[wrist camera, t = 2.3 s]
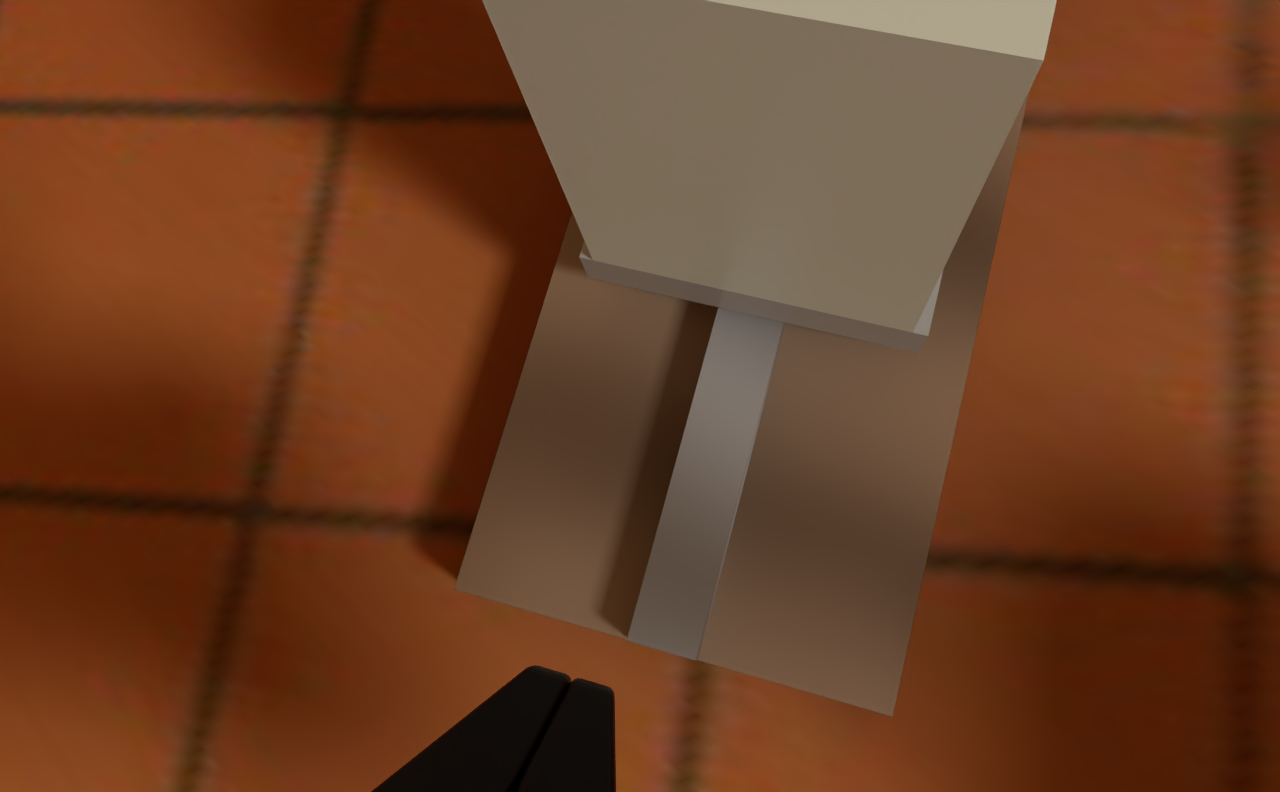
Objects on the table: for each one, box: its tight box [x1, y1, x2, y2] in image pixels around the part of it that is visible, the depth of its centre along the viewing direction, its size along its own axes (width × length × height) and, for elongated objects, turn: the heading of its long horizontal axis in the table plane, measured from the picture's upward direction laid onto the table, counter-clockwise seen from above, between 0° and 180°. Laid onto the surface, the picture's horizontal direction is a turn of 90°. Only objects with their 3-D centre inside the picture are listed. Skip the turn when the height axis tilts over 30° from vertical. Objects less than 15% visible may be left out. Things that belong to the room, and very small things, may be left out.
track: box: [454, 92, 1029, 717], centre depth 17 cm, size 18×8×8 cm, turn 164°
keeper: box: [482, 0, 1057, 353], centre depth 14 cm, size 4×6×9 cm, turn 74°
